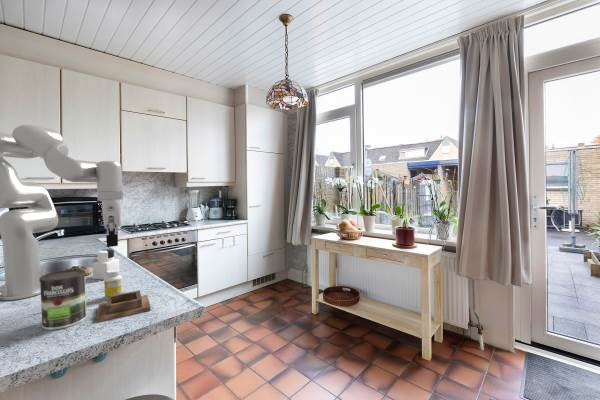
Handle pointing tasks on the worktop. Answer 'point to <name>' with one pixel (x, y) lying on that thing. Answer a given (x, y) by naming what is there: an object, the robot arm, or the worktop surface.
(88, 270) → the bread roll
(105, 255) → the medicine bottle
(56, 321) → the coffee can
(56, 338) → the worktop surface
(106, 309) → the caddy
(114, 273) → the supplement bottle
